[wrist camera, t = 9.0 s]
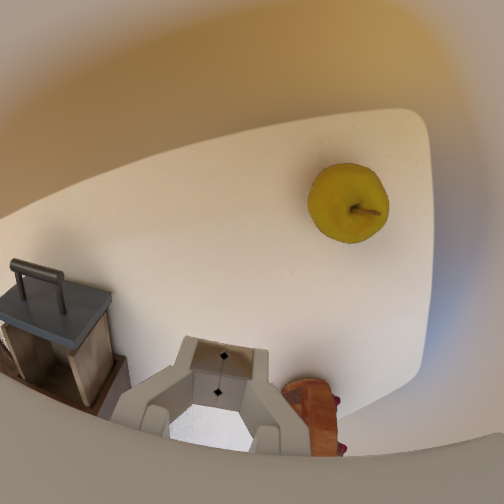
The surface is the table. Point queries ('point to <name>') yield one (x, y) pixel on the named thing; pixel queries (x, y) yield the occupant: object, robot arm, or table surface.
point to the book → (6, 361)
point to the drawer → (57, 333)
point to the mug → (316, 414)
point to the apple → (348, 203)
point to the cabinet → (107, 397)
